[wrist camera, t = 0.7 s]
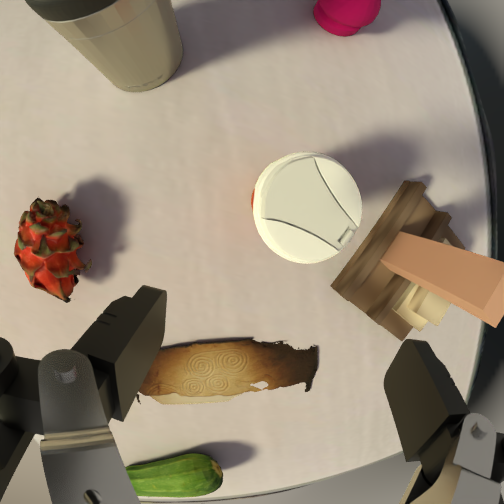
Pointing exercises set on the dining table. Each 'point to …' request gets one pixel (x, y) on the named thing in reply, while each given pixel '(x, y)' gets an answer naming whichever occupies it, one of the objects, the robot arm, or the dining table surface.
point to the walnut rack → (373, 247)
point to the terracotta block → (450, 274)
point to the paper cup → (306, 207)
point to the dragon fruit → (50, 248)
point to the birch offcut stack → (421, 304)
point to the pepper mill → (345, 15)
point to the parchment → (225, 370)
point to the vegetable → (177, 476)
